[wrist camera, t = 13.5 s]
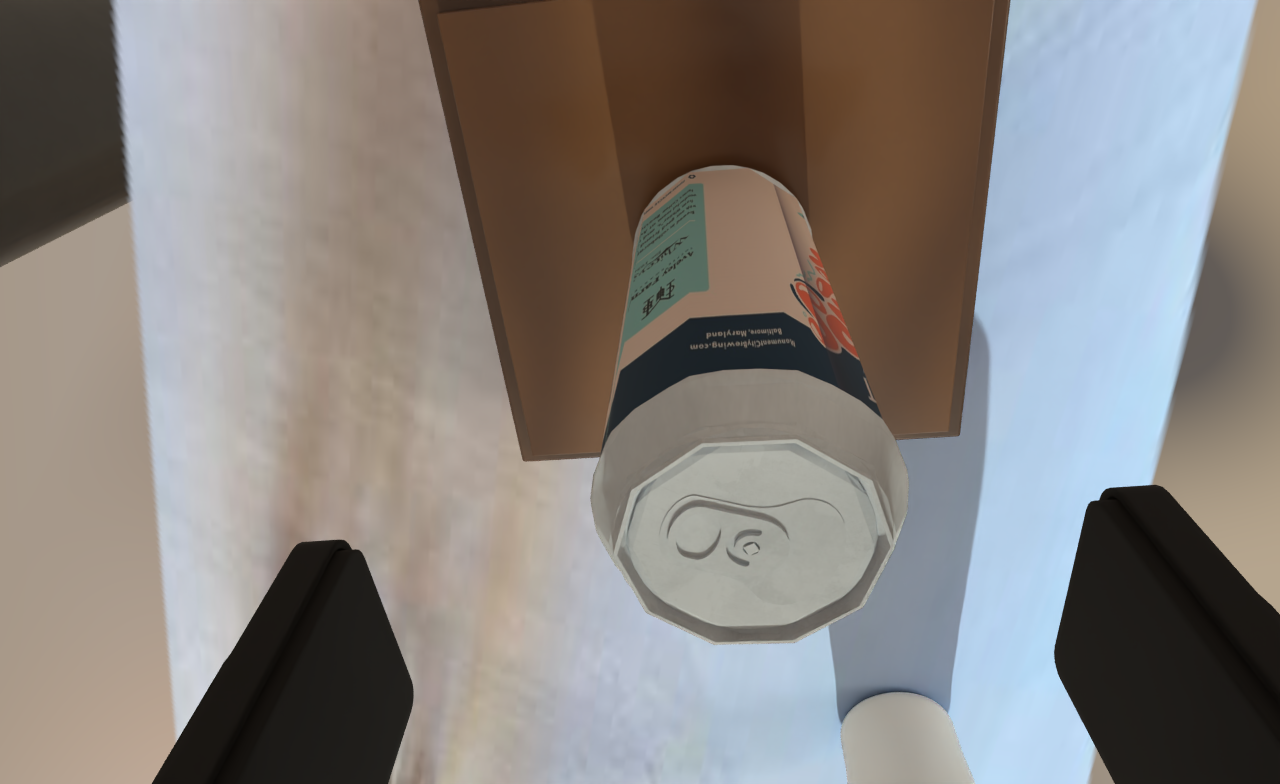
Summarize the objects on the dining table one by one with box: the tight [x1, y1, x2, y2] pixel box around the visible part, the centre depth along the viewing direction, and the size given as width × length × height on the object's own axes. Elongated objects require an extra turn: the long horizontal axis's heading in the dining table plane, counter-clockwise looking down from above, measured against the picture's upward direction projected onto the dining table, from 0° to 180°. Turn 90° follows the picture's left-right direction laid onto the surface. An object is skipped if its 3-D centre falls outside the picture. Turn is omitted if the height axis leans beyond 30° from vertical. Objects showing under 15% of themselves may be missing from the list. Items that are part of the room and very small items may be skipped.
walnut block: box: [418, 0, 1010, 462], centre depth 24 cm, size 14×14×5 cm
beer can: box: [590, 165, 909, 645], centre depth 16 cm, size 5×5×12 cm
